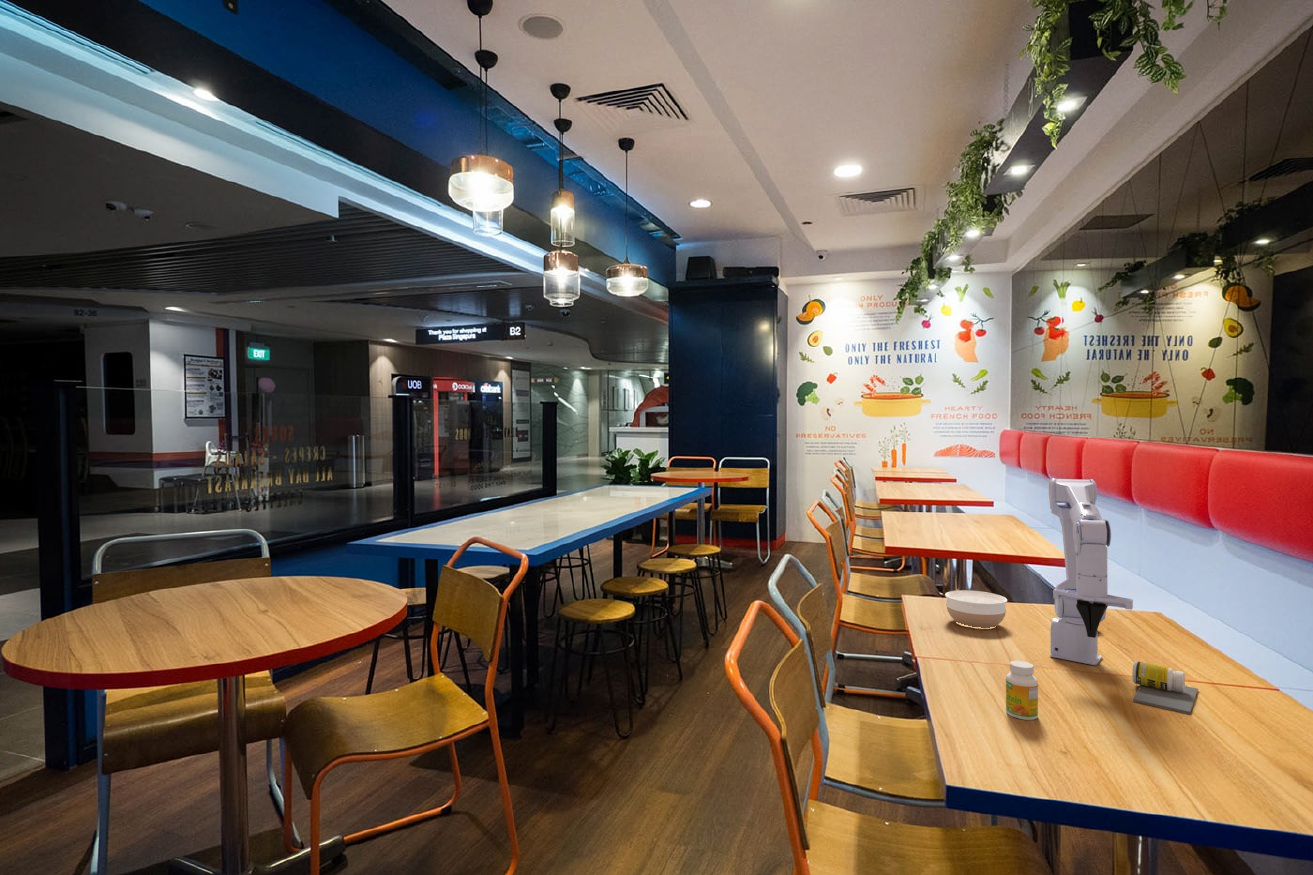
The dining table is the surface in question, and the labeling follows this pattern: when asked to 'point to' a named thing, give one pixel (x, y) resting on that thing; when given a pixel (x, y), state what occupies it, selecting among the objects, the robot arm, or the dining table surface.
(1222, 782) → the dining table surface
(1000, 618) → the bowl
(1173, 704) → the mat
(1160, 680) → the supplement bottle
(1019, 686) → the supplement bottle
